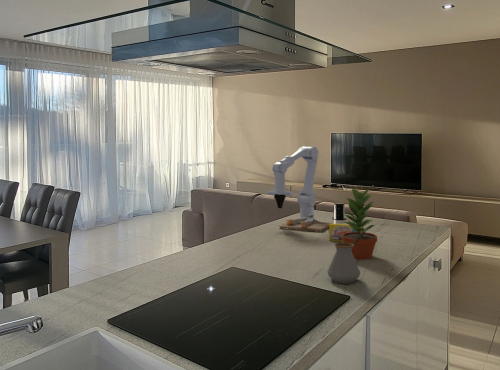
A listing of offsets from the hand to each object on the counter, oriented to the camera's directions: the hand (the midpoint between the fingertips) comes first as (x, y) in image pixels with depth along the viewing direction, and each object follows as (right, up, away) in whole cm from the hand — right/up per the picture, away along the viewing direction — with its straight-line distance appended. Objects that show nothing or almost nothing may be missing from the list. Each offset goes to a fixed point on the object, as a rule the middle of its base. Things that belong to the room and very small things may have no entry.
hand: (280, 208), depth 253 cm
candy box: (+29, -14, -36) cm, 48 cm away
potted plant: (+29, -17, -62) cm, 71 cm away
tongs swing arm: (+10, -9, +1) cm, 13 cm away
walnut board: (+14, -11, -2) cm, 18 cm away
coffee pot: (+20, -21, -88) cm, 93 cm away
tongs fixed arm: (+15, -9, -2) cm, 17 cm away
